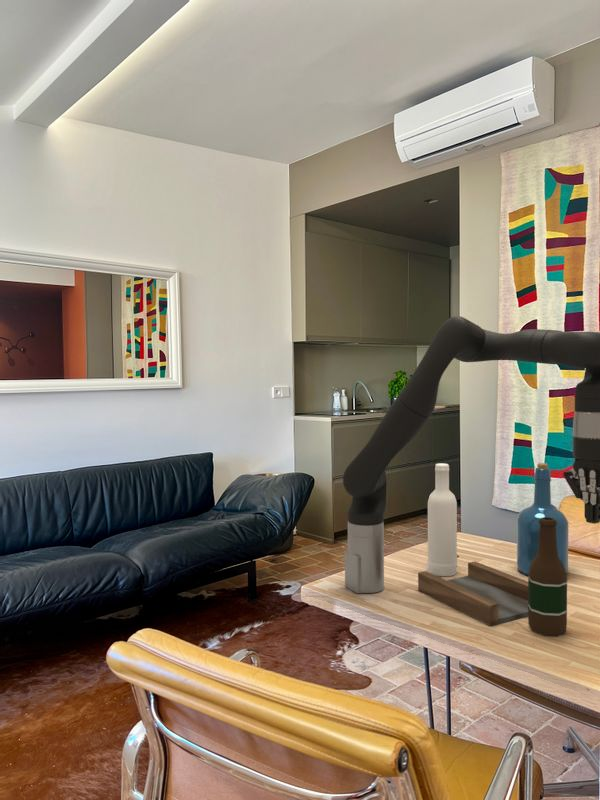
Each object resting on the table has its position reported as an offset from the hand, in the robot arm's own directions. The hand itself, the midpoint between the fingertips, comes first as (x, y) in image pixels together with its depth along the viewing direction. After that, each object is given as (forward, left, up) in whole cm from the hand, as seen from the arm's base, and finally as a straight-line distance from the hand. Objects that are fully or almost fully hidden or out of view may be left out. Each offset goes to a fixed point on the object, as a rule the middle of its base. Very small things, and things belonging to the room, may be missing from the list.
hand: (593, 522), depth 120 cm
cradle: (0, +31, -26) cm, 40 cm away
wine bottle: (+29, +38, -26) cm, 54 cm away
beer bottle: (0, +11, -26) cm, 28 cm away
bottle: (+5, +51, -26) cm, 57 cm away
